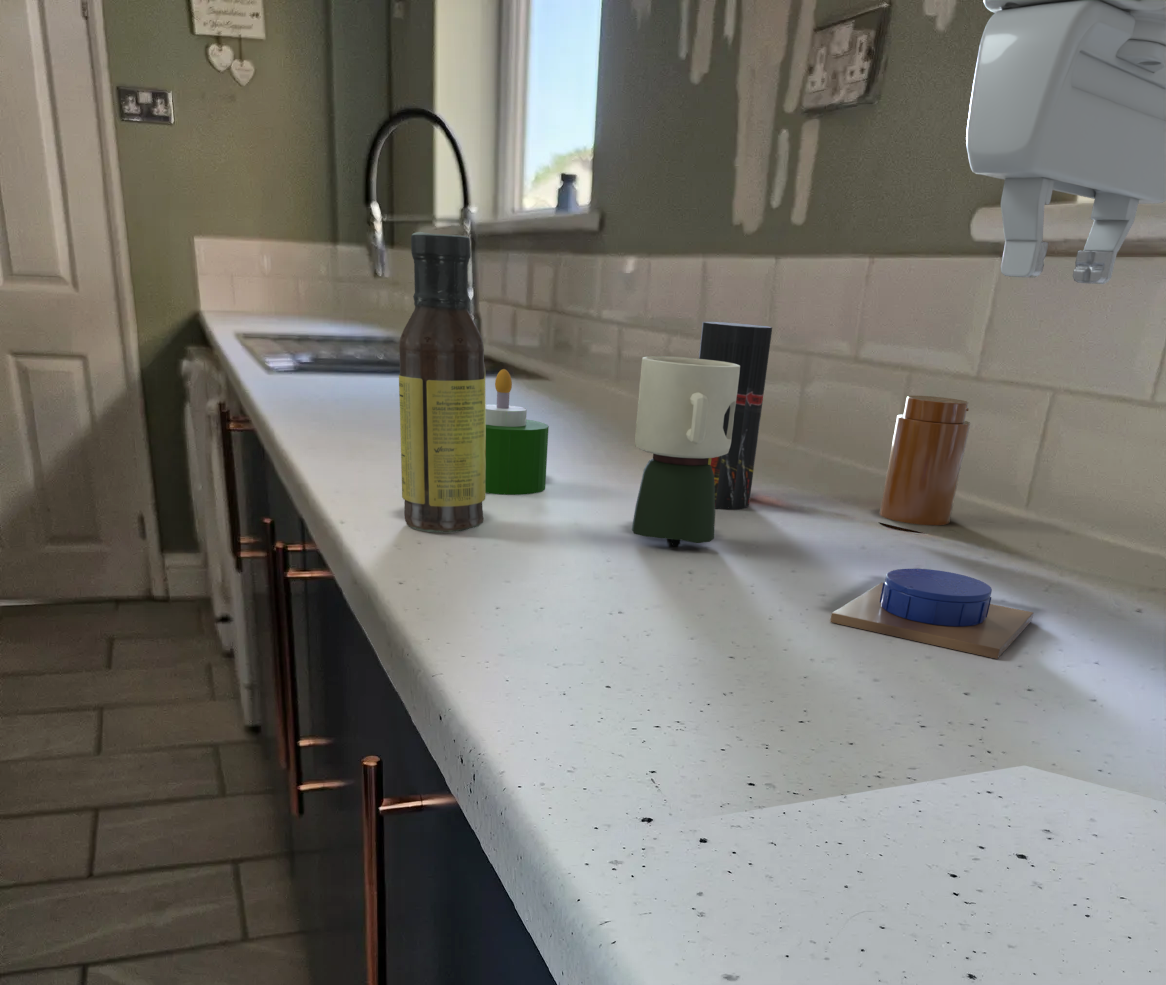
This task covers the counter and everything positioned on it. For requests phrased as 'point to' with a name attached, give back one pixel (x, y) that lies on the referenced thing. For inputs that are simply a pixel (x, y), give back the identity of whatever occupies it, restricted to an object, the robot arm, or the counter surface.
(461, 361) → the sauce bottle
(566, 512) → the counter surface
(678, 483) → the character mug
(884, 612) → the coaster
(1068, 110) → the robot arm
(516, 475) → the candle
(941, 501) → the jar
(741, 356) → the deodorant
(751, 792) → the counter surface
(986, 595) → the jar lid
